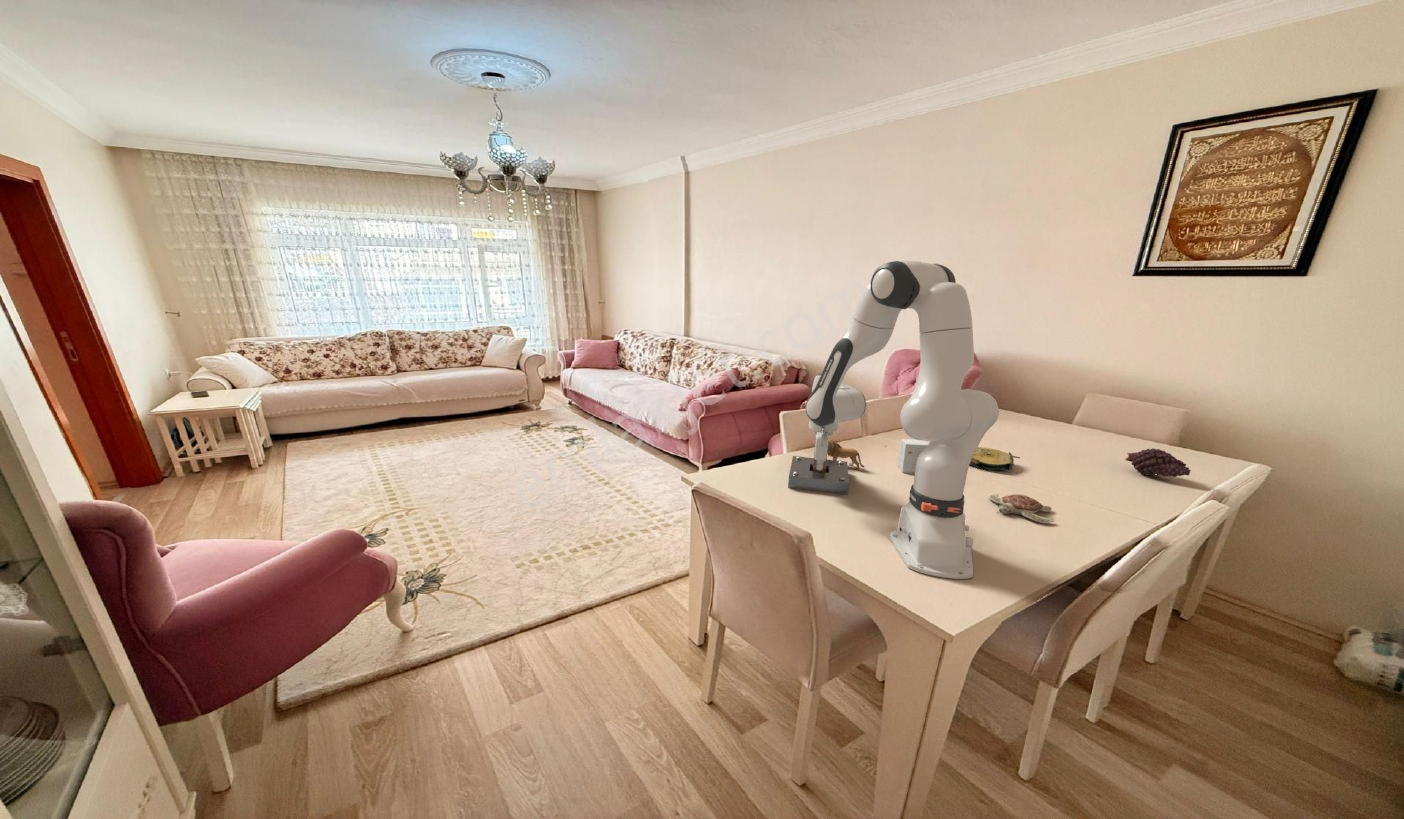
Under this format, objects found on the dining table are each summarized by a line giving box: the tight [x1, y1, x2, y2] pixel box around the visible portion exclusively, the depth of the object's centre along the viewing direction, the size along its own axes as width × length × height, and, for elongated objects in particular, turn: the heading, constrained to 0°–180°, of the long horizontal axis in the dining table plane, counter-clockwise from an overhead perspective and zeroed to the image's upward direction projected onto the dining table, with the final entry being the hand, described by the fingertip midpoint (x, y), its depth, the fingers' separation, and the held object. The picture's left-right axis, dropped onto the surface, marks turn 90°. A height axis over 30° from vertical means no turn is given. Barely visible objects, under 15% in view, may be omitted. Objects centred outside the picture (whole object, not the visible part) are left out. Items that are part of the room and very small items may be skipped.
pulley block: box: [969, 446, 1021, 474], centre depth 179 cm, size 14×6×30 cm
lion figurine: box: [827, 439, 865, 470], centre depth 172 cm, size 15×5×9 cm, turn 74°
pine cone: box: [1124, 448, 1191, 478], centre depth 168 cm, size 18×10×10 cm, turn 27°
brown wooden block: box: [813, 450, 828, 473], centre depth 159 cm, size 4×4×10 cm
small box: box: [897, 438, 929, 474], centre depth 169 cm, size 8×6×10 cm
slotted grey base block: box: [787, 455, 850, 496], centre depth 160 cm, size 18×18×5 cm
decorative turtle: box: [988, 493, 1055, 524], centre depth 142 cm, size 18×17×5 cm
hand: (819, 463), depth 159 cm, fingers open, 8 cm apart
